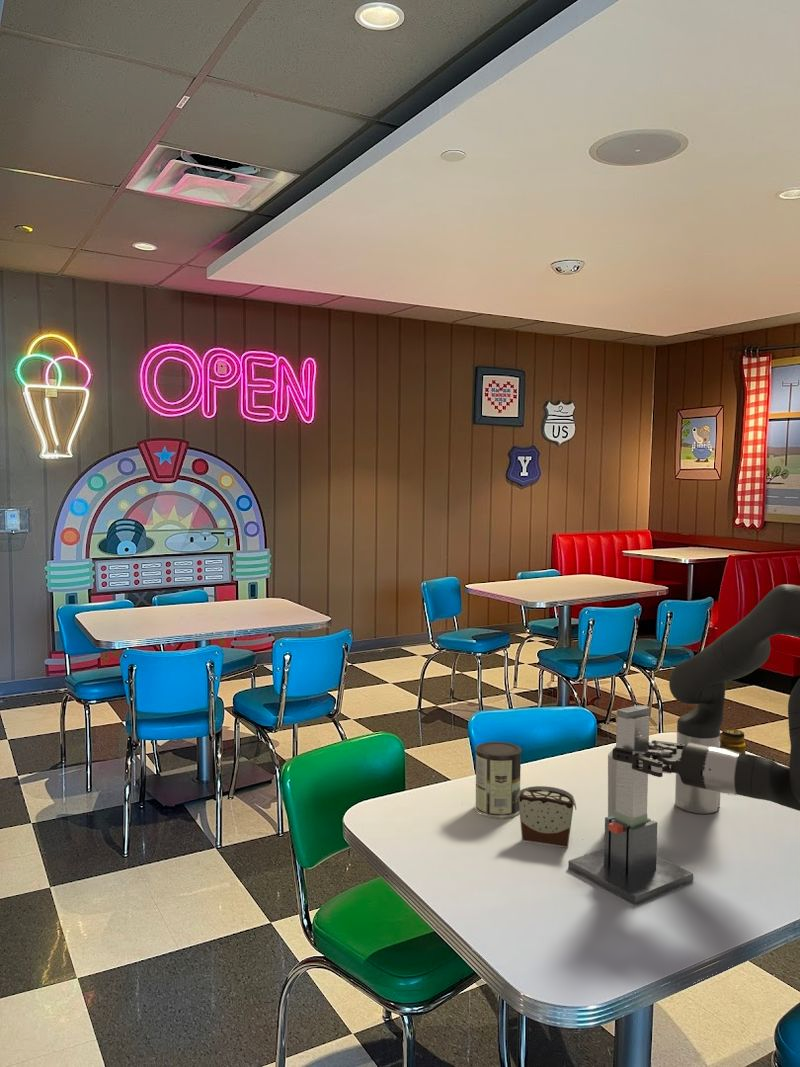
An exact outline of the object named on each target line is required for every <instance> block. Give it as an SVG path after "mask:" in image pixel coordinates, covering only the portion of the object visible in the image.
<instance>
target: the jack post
mask: <svg viewBox="0 0 800 1067" xmlns="http://www.w3.org/2000/svg"><path fill="white" fill-rule="evenodd" d="M650 715H651V707H649V706H646V705H642V704H638V705H632V706H629V707H623V708H618V709H616V717H617V716H618V730H617V729H616V730H617V748H622V749H627V750H632V751H640V752H645V751H646V750H649V742H650ZM644 757H645V756H644ZM639 762H642V761H640V760H639ZM648 784H649V774H647V773H644V772H640V771H637V770H634V769H632V763H627V762H622V761H618V760H617V774H616V811H615V819H616V820H618V821H620V822H622V823H624V824H627V825H629V826H630V828H631V827H634V826H638V825H641V824H644V823H647V818H648V794H649V793H648Z"/></svg>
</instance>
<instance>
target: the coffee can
mask: <svg viewBox="0 0 800 1067" xmlns="http://www.w3.org/2000/svg"><path fill="white" fill-rule="evenodd" d="M521 754H522V748H521V747H520V746H519V745H517V744H514V743H510V742H505V741H488V742H482V743H479V744H477V745H476V746H475V806H476V809H475V811H476V810H477V811H478V812H479V813H481V814H483V815H482V816H484V815H485V816H484V817H487V816H489V817H488V818H490V817H493V818H492V819H509V818H513V817H516V816H518V815H520V812H519V800H518V801H517V802H516V797H517V795H518V792H519V791H520V790H521V768H522V767H521V766H522V764H521V762H522V761H521V760H522V759H521V757H522V755H521ZM477 811H476V812H477ZM478 812H477V813H478ZM479 813H478V814H479ZM481 814H480V815H481Z"/></svg>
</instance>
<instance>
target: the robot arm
mask: <svg viewBox="0 0 800 1067" xmlns="http://www.w3.org/2000/svg"><path fill="white" fill-rule="evenodd" d="M776 635H777V636H778V635H783V636H790V637H795V638H799V639H800V585H796V584H789V583H788V584H787V583H786V584H779V585H777V586H776V587H774V588H773V589H771V590H770V591H769V592H768V593H767V594H766V595H764V597H763V598H762V600H760V601H759V603H757V605H756V606H755V607H754V608H753V609H752V610H750V612H749V613H748V614H746V616H745V617H743V618H742V619H741V620H739V622H737V623H736V624H735V625H734V626H731V628H729V629H727V630H726V631H725V632H724V633H722V634H721V635H720V636H719V637H718V638H716V639H715V640H714V641H713V642H711V643H710V644H709V645H707V646H706V647H704V649H702V650H701V651H700V652H698V653H697V654H696V655H693V656H692V657H689V658H688V659H686V660H684V661H682V662H680V663H678V664H677V665H675V667H674V668H673V670H672V672H671V673H670V677H669V680H668V682H669V683H668V684H669V685H668V686H669V690H670V693H671V695H672V696H673V698H674V699H675V700H676V701H678V702H680V703H682V704H686V705H695V704H697V705H696V707H694V708H693V709H692V710H691V711H689V712H688V713H685V714H683V715H681V716H680V717H678V719H677V721H676V742H672V741H671V742H669V741H664V740H663V741H662V740H656V739H653V740H651V742H650V741H649V750H646V751H645V752H640V751H632V750H627V749H622V748H617V747H615V746H614V747H615V748H614V747H613V749H612V750H611V751H612V758H613V759H614V760H618V761H622V762H627V763H632V769H634V770H637V771H640V772H644V773H647V774H648V775H651V776H654V777H657V778H662V777H663V774H672V773H674V774H675V794H674V795H675V796H674V804H675V806H676V807H677V808H679V809H681V810H683V811H686V812H689V813H694V814H701V815H702V814H712V813H713V814H714V813H716V812H717V811H718V810H719V807H720V806H721V794H729V795H738V796H742V797H747V798H751V799H756V800H763V801H766V802H771V803H775V804H777V805H780V806H783V807H786V808H789V809H792V810H796V811H799V812H800V677H799V678H798V679H797V682H795V685H794V686H793V688H792V690H791V692H790V694H789V698H788V704H787V718H788V732H789V733H788V734H789V742H790V751H789V766H784V765H782V764H779V763H777V762H775V761H774V760H773V759H770V758H766V757H763V756H758V755H753V754H749V753H748V754H747V753H745V754H743V753H738V752H735V751H732V750H729V749H725V748H720V741H721V728H722V725H723V721H724V710H725V697H726V682H729V681H734V680H737V679H740V678H743V677H746V676H748V675H749V674H751V673H753V672H754V671H756V670H757V669H759V668H760V667H762V666H763V665H764V664H765V663H766V662H767V661H768V659H769V657H770V654H771V641H770V638H772V637H773V636H776ZM644 756H645V757H644ZM639 760H640V761H642V762H639Z"/></svg>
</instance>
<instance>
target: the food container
mask: <svg viewBox="0 0 800 1067" xmlns="http://www.w3.org/2000/svg"><path fill="white" fill-rule="evenodd" d="M518 800H519V812H520V813H519V820H520V821H519V822H520V823H519V824H520V832H521V842H526V843H533V844H540V845H541V844H542V845H545V846H546V845H547V846H553V847H559V848H569V843H570V835H571V828H572V819H573V813H574V812H573V811H574V809H575V811H577V804H576V801H575V798H574V795H573V794H572V793H571V792H569V791H566V790H564V789H561V788H558V787H554V786H547V785H546V786H544V785H538V786H537V785H536V786H535V785H534V786H527V787H525V788H522V789H520V791H519V792H518V795H517V797H516V802H517V801H518Z"/></svg>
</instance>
